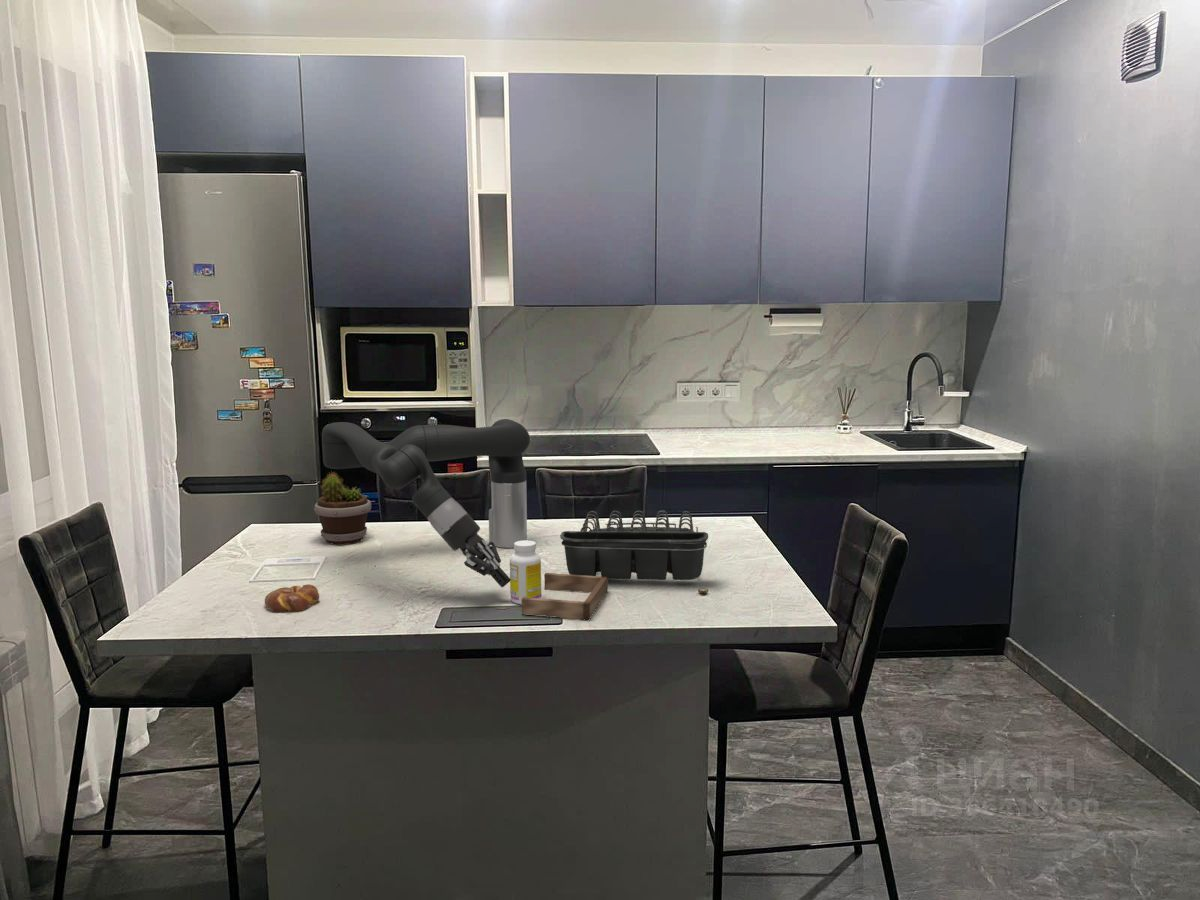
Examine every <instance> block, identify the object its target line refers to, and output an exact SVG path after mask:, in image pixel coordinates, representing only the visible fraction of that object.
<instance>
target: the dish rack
mask: <svg viewBox="0 0 1200 900" xmlns="http://www.w3.org/2000/svg"><path fill="white" fill-rule="evenodd" d="M593 513H594V514H593ZM639 513H641V514H639ZM591 516H592V517H591ZM593 517H594V518H593ZM640 517H641V518H640ZM686 517H688V518H686ZM591 520H592V521H593V522H592V521H591ZM613 520H615V521H613ZM637 520H638V521H637ZM640 521H641V522H640ZM589 524H591V525H592V528H591V527H590V526H589ZM624 525H627V526H624ZM628 525H629V526H628ZM634 525H639V526H634ZM647 525H652V526H647ZM661 525H662V526H661ZM683 525H688V526H689V528H688V527H683ZM605 526H606V527H604V528H603V527H601V525H600V519H599V515H598V512H597V511H595V510H590V511H589V512H587V515H586V517H585V520H584V522H583V523H582V527H581V528H580V531H579V530H576V531H575V530H574V531H573V530H564V531H562V532H561V534H560V536H559V538H560V539H561V540H562V542H561V543H560V544H561V545H562V546H564V553H565V560H566V566H567V567H566V568H567V571H568V574H571V575H586V576H597V574H598V573H600V576H601V577H608V580H631V578H632V573H635V574H636V580H640V581H641V580H646V581H647V580H648V581H649V580H652V581H654V580H657V581H666V580H667V575H668V574H671V575H672V580H674V581H693V580H695V579H698V578H700V576H701V575H702V571H703V566H704V557H705V556H704V555H705V549H706V548H707V547H708V544H707V543H708V542H707V541H708V538H709V532H708V533H707V532H706V531H699V527H698V526H695V528H696V529H695V530H694V524H693V515H692V513H691V512H690V511H687V510H684V511H682V512H681V514H680V517H679V523H678V527H677V524H676V523H674V522H673V523H671V522H670V521H669V514H668V512H666V511H665V510H660V511H658V512H657V514H656V518H655V522H646V516H645V514H644V511H642V510H635V512H634V513H633V515H632V521H631V522H623V516H622V512H620V511H618V510H613V511H612V512H611V513H610V514H609V518H608V521H607V523H605ZM614 526H616V527H614ZM670 526H673V527H670ZM588 529H589V530H588Z"/></svg>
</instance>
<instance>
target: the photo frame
mask: <svg viewBox="0 0 1200 900" xmlns="http://www.w3.org/2000/svg"><path fill="white" fill-rule="evenodd" d="M326 560H327V556H324V555H323V556H299V557H278V558H277V557H275V558H272V557H271V558H265V559H264V561H262V563H261V564H260V566H259V567H258V569H257V570H256V571H255V572H254V573H253V575H252V576H251V578H250V579H249V580H248V584H249V583H250V584H251V583H252V584H253V583H272V582H273V583H275V582H279V583H281V582H297V581H300V582H301V581H316V578H317V577H318V575H319V573H320V571H321V570H322V568H323V566H324V564H325V562H326ZM311 565H313V566H315V565H316V566H317V565H318V566H317V567H316V570H315V572H314V574H313V576H309V577H308V576H307V577H286V578H282V577H281V578H265V579H264V578H263V579H262V578H261V579H260V578H259V579H256V578H257V577H258V575H259V574H260V573H261V572H262V570H263V569H264V568H265V567H269V568H270V567H284V566H285V567H287V566H288V567H290V566H311Z"/></svg>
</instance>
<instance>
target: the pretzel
mask: <svg viewBox="0 0 1200 900" xmlns="http://www.w3.org/2000/svg"><path fill="white" fill-rule="evenodd" d="M318 601H320V593H319V590H318V588H317V587H316V586H315V585H312V584H303V585H302V586H301V585H292V586H290V587H287V586H286V587H279V588H277V589H275V590H272V591H271V592H269V593H268V594H266V596H265V598H264V605H265V607H266V608H267V609H268V610H269V611H272V612H275V613H286V612H301V611H305V610H306V609H309V608H310V606H314V604H316V603H318Z"/></svg>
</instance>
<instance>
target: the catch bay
mask: <svg viewBox="0 0 1200 900" xmlns="http://www.w3.org/2000/svg"><path fill="white" fill-rule="evenodd" d="M608 580H609V579H608V577H601V575H600V576H599V575H598V576H597V575H596V576H586V575H571V574H569V573H556V572H555V573H553V572H545V573H544V590H547V589H552V590H551V591H561V590H570V591H569V592H574V591H585V592H584V593H588V592H591V593H589V594H588V596H587V597H586V599H585V600H584V601H580V600H565V599H554V598H552V599H551V598H542V597H541V598H528V597H523V598H522V604H521V615H522V614H529V615H531V614H532V615H546V616H556V617H561V618H560V619H563V618H567V619H566V620H575V619H585V620H584V621H588V620H589V619H591V618H592V617H593V615H594V613H595V612H596V610H597V609H598V607H599V606H600V604H601V603H600V602H602V601H603V600H604V598H605V597H604V596H606V595H607V594H608ZM606 593H607V594H606ZM605 594H606V595H605ZM603 597H604V598H603ZM602 599H603V600H602ZM601 600H602V601H601ZM599 603H600V604H599ZM598 605H599V606H598ZM597 606H598V607H597ZM596 608H597V609H596ZM595 609H596V610H595ZM594 611H595V612H594ZM593 612H594V613H593ZM592 614H593V615H592ZM591 616H592V617H591ZM590 617H591V618H590ZM589 621H590V620H589Z"/></svg>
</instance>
